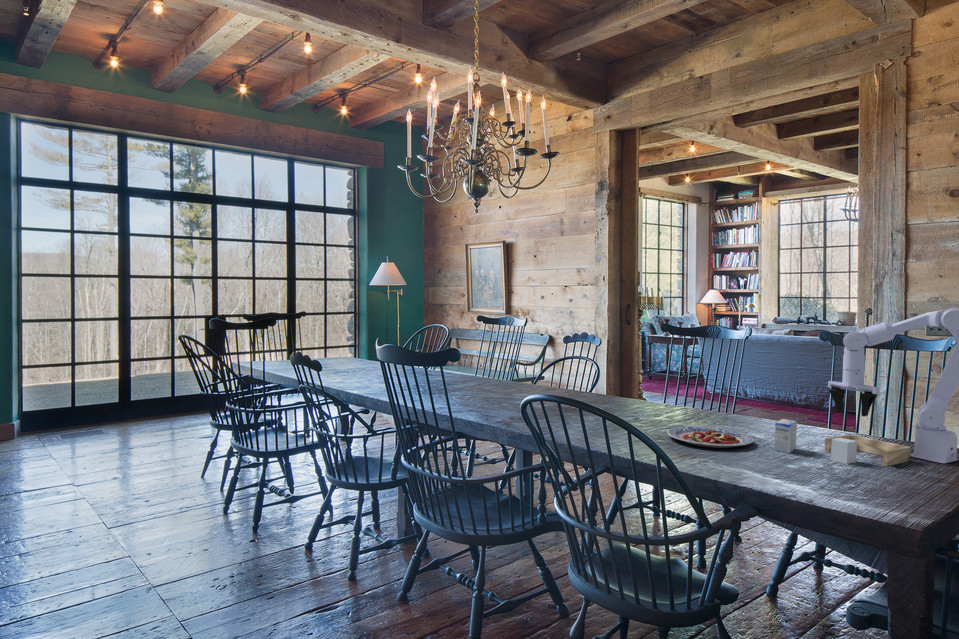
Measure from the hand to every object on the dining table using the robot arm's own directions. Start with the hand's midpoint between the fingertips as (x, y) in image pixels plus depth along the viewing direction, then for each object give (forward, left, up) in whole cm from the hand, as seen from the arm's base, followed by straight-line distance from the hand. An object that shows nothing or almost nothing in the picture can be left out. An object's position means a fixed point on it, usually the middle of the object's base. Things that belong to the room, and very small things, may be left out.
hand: (851, 413), depth 188 cm
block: (-8, +18, -10) cm, 23 cm away
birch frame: (-8, +7, -10) cm, 15 cm away
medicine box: (+7, +22, -11) cm, 25 cm away
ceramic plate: (+25, +34, -11) cm, 44 cm away
